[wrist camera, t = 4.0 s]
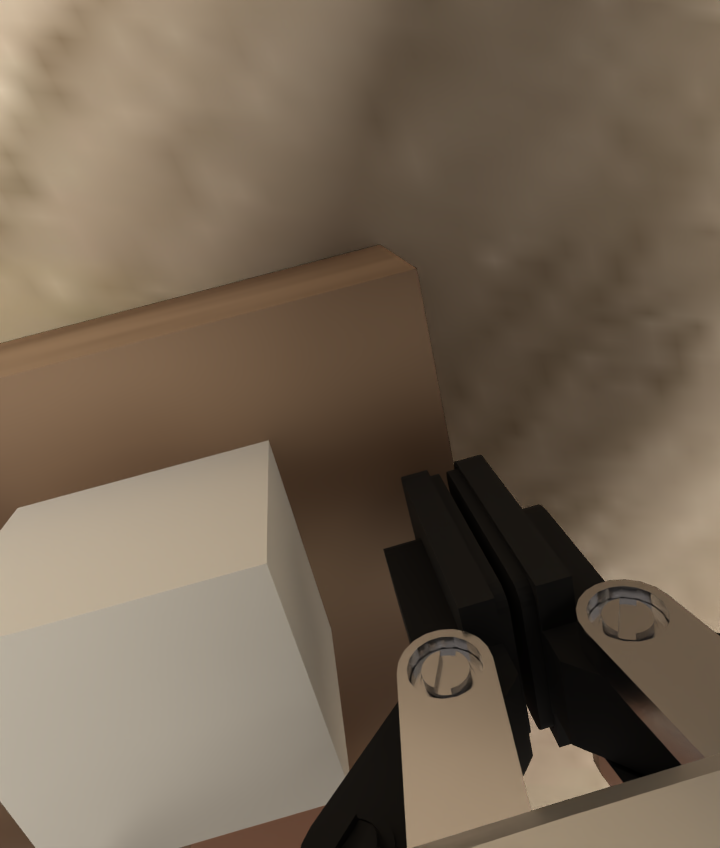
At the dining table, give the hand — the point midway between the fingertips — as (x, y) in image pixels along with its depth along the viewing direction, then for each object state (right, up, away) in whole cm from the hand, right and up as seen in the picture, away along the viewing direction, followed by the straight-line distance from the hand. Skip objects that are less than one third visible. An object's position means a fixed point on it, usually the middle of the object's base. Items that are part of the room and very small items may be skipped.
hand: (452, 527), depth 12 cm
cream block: (-6, -1, 0) cm, 6 cm away
